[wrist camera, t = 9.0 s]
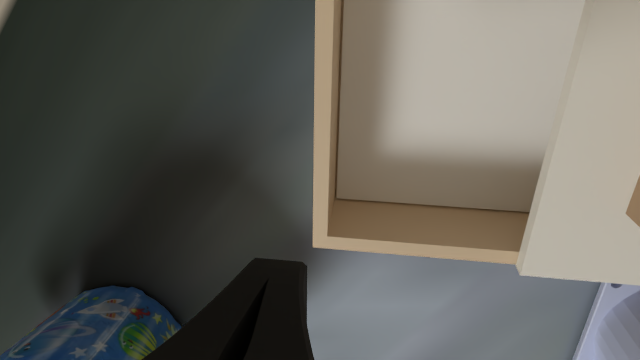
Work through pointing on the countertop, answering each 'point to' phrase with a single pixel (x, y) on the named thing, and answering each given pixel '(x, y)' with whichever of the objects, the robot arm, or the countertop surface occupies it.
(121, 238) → the countertop surface
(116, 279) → the countertop surface
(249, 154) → the countertop surface
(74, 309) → the snack cup
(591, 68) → the mailer lid
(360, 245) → the mailer box
